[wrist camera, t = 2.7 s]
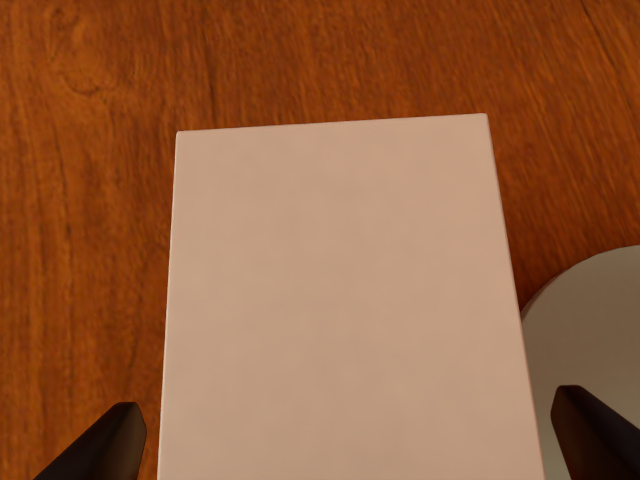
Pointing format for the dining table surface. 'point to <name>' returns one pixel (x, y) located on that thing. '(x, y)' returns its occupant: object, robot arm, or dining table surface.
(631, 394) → the plate
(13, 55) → the dining table surface
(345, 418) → the cake slice
